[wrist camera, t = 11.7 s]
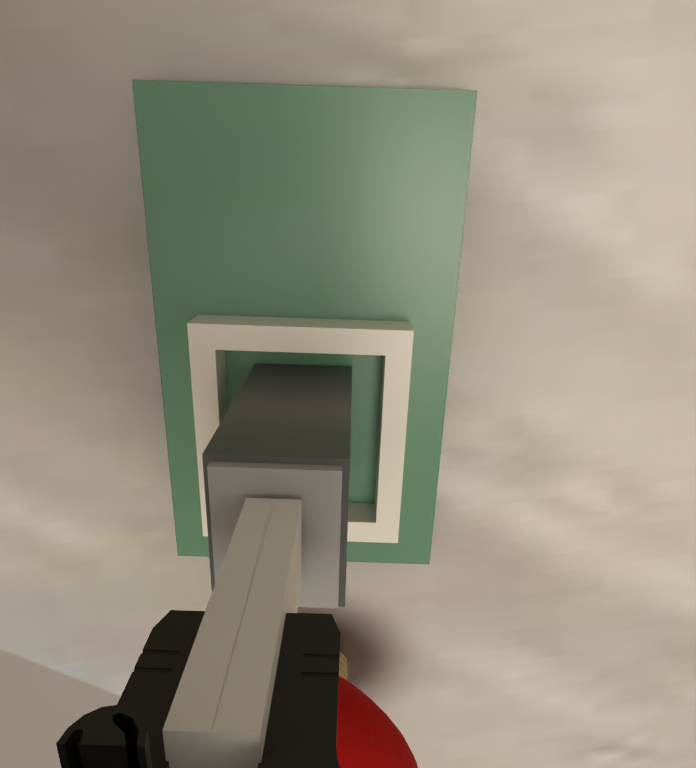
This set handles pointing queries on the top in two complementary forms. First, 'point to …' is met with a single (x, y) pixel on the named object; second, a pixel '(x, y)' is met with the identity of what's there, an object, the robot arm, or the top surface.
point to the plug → (287, 467)
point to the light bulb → (366, 731)
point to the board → (309, 275)
